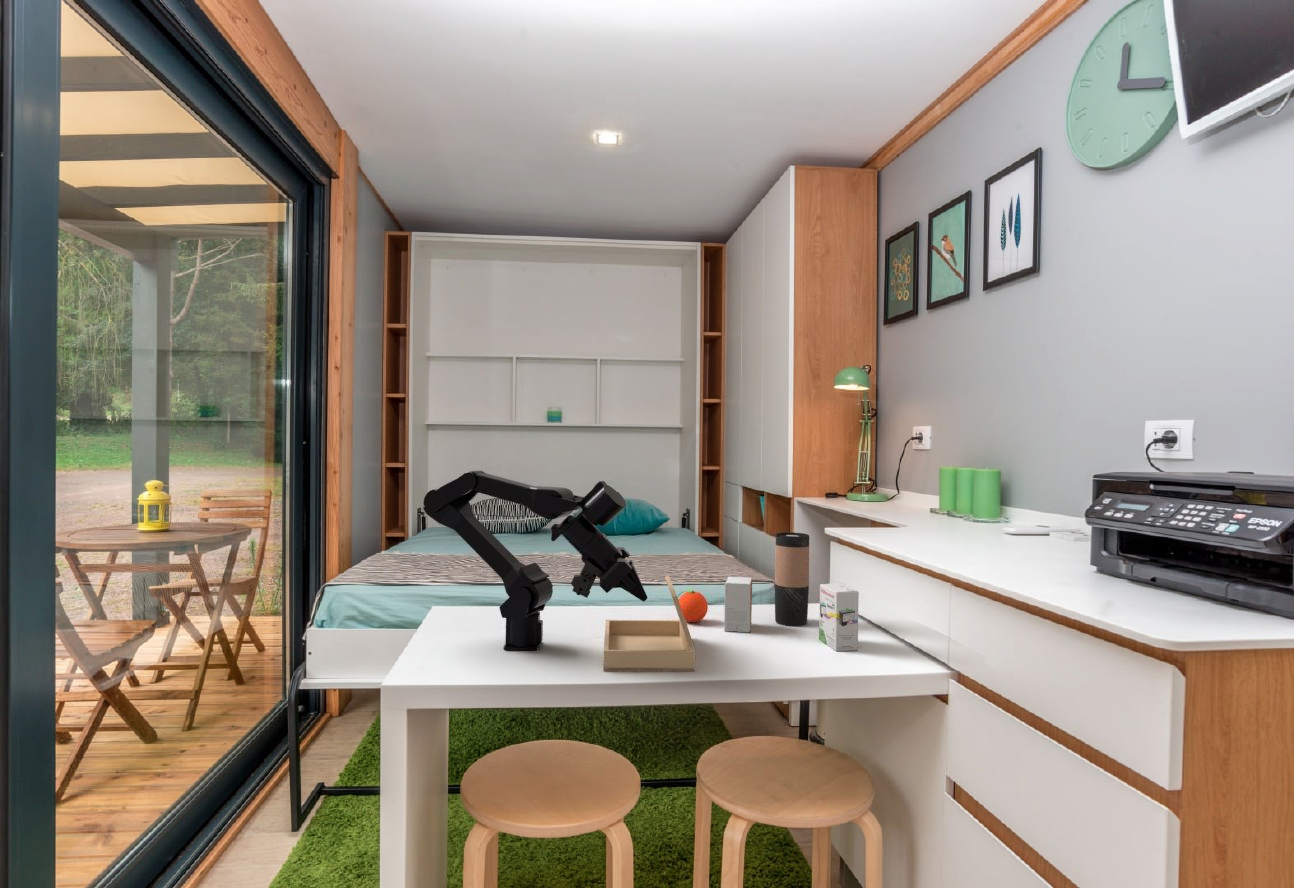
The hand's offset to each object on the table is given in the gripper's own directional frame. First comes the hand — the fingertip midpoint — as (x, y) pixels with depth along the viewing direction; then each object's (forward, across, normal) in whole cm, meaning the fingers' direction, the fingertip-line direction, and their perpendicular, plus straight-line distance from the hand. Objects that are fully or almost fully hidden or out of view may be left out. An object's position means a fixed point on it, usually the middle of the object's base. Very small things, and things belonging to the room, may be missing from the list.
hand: (645, 599), depth 133 cm
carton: (+7, 0, -7) cm, 10 cm away
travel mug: (+32, -24, +17) cm, 43 cm away
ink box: (+35, -6, +20) cm, 41 cm away
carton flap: (+10, 0, +1) cm, 10 cm away
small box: (+22, -19, +8) cm, 30 cm away
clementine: (+15, -24, +1) cm, 29 cm away
